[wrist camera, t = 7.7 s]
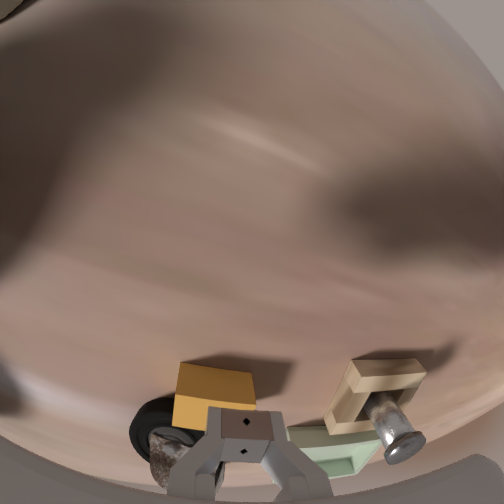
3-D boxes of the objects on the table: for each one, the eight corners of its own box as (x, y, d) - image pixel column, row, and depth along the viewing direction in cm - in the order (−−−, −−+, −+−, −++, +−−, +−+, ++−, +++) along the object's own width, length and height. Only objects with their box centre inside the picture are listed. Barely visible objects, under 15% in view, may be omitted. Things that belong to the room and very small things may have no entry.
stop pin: (392, 374, 25) (433, 433, 17) (377, 401, 27) (412, 459, 18) (361, 376, 25) (401, 442, 17) (348, 403, 26) (379, 468, 18)
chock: (251, 371, 24) (256, 404, 20) (241, 402, 25) (244, 434, 21) (180, 361, 23) (175, 394, 19) (176, 393, 24) (171, 425, 20)
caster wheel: (150, 375, 26) (246, 408, 26) (133, 447, 26) (214, 474, 27) (127, 409, 19) (247, 450, 19) (115, 482, 19) (210, 514, 20)
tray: (376, 420, 28) (386, 438, 25) (350, 458, 30) (356, 474, 27) (287, 426, 26) (292, 448, 23) (269, 464, 28) (272, 483, 26)
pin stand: (415, 358, 25) (427, 372, 23) (384, 412, 27) (392, 426, 25) (351, 359, 24) (361, 376, 22) (323, 417, 26) (329, 435, 24)
